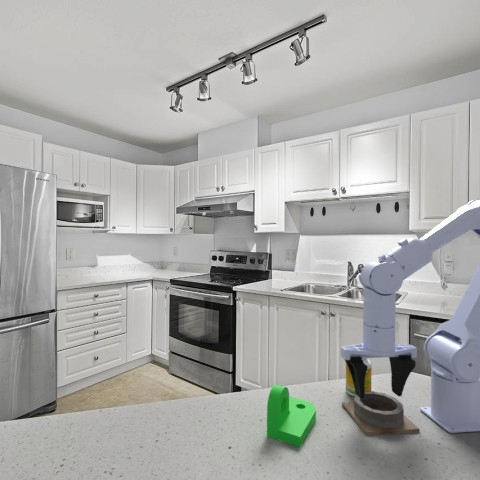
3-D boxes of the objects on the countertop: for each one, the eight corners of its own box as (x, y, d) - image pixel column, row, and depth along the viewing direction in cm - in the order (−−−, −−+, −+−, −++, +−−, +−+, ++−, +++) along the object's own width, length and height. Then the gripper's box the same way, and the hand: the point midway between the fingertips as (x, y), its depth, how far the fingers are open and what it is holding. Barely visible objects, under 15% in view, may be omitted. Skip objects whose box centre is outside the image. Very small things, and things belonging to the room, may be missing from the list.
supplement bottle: (358, 400, 67) (359, 355, 67) (340, 390, 72) (341, 347, 72) (376, 395, 70) (377, 351, 70) (357, 385, 75) (358, 344, 75)
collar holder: (387, 403, 66) (387, 388, 66) (419, 432, 56) (419, 414, 56) (342, 405, 65) (342, 390, 65) (366, 435, 55) (366, 417, 55)
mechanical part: (300, 449, 52) (300, 400, 52) (266, 437, 55) (267, 391, 55) (319, 414, 62) (319, 374, 62) (290, 406, 65) (291, 367, 65)
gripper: (401, 318, 66) (400, 383, 66) (334, 319, 64) (333, 386, 64) (424, 328, 59) (423, 400, 59) (350, 329, 57) (349, 404, 57)
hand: (378, 394), depth 61 cm, fingers open, 7 cm apart
